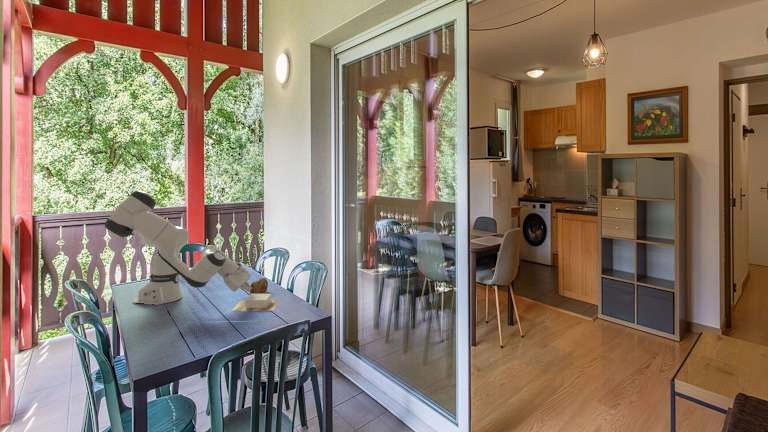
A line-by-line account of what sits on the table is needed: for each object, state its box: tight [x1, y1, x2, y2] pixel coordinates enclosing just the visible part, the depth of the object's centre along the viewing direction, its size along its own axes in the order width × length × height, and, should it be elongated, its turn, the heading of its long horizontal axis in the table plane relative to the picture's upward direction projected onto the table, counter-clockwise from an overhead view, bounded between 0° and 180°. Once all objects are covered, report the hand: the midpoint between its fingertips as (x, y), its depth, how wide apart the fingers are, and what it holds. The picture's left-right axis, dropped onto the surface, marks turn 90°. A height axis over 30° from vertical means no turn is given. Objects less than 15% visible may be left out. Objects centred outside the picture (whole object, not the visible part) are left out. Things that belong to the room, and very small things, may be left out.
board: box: [230, 299, 281, 312], centre depth 187 cm, size 20×15×1 cm
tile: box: [244, 293, 273, 308], centre depth 188 cm, size 4×10×10 cm
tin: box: [249, 277, 269, 296], centre depth 205 cm, size 15×3×8 cm, turn 168°
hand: (250, 290), depth 187 cm, fingers closed
